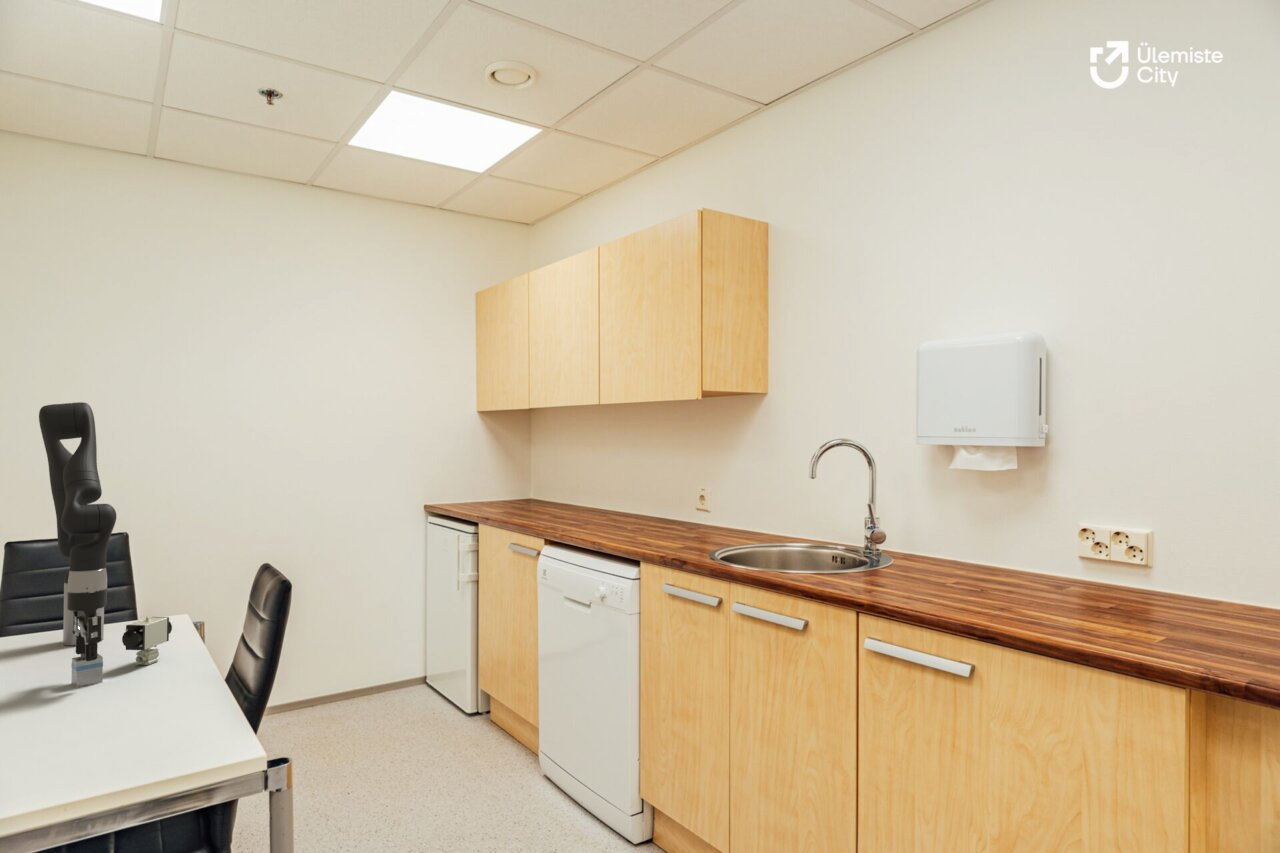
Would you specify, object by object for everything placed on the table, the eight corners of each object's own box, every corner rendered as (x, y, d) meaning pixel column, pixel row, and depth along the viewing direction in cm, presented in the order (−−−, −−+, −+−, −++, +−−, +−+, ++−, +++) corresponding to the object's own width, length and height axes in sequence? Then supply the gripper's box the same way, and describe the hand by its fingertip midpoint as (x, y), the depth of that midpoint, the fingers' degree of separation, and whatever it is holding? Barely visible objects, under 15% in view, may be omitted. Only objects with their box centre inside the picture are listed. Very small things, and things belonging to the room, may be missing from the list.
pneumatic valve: (172, 657, 195) (173, 611, 195) (138, 670, 183) (138, 622, 184) (153, 656, 196) (153, 611, 196) (117, 670, 184) (118, 622, 184)
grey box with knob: (71, 683, 174) (71, 653, 174) (97, 678, 178) (97, 649, 178) (76, 687, 171) (76, 657, 171) (102, 682, 175) (103, 652, 175)
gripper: (60, 586, 176) (59, 654, 176) (75, 594, 167) (74, 666, 167) (98, 582, 182) (97, 648, 182) (115, 589, 173) (113, 659, 172)
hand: (86, 656), depth 174 cm, fingers open, 8 cm apart
